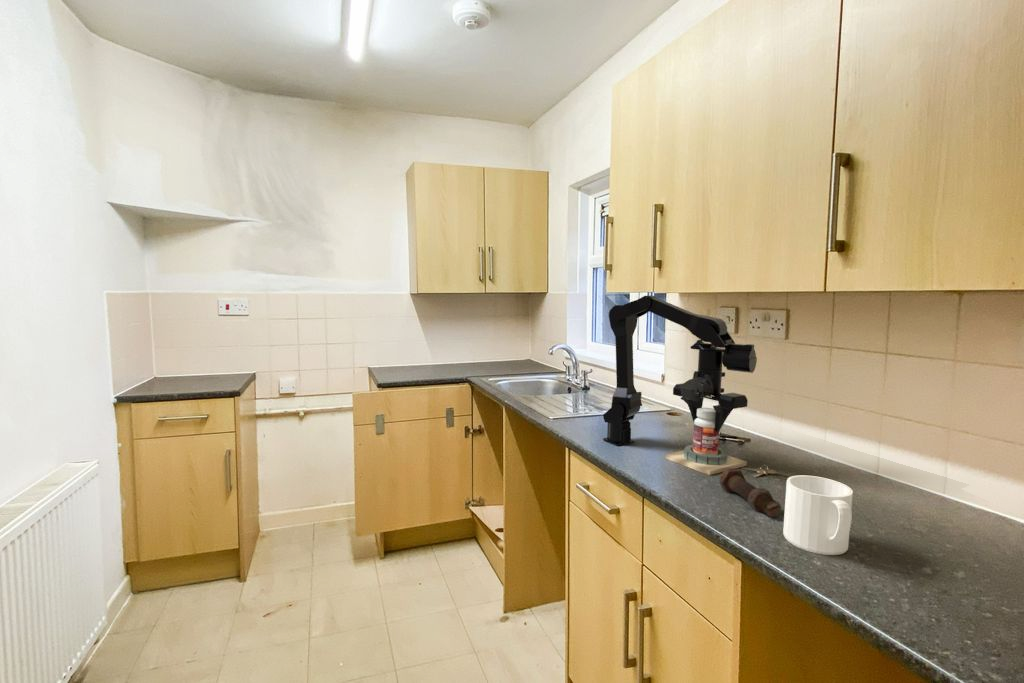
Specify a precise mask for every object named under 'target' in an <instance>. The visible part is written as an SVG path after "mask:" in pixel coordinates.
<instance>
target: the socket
mask: <svg viewBox="0 0 1024 683" xmlns="http://www.w3.org/2000/svg"><path fill="white" fill-rule="evenodd" d="M664 458H665V459H667V460H669V461H671V462H675V463H676V464H679V465H682V466H685V467H686V468H687V467H688V468H690V469H692V470H695V471H698V472H700V473H703V474H705V475H708V476H712V475H716V474H720V473H723V472H724V471H725V470H726V469H732V468H734V469H739V468H741V467H745V466H747V464H748V462H747V461H746V460H743V459H739V458H737V457H734V456H733V457H732V456H731V455H729V454H728V451H727V450H726V449H723V448H721V447H719V446H718V454H717V455H703V454H698V453H695V452H694V451H693V444H690V445H689V444H687V445H686V446H685V447H684V449H683V450H680V451H675V452H672V453H666V454H665V457H664Z"/></svg>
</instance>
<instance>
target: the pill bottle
mask: <svg viewBox="0 0 1024 683" xmlns="http://www.w3.org/2000/svg"><path fill="white" fill-rule="evenodd" d="M697 416H698V418H696V419H695V421H694V422H693V436H692V445H693V451H694V452H695V453H698V454H703V455H717V454H718V447H719V443H720V442H719V440H720V439H719V438H720V431H715V416H716V411H715V409H714V408H711V407H702V408H698V409H697Z"/></svg>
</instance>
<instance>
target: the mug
mask: <svg viewBox="0 0 1024 683" xmlns="http://www.w3.org/2000/svg"><path fill="white" fill-rule="evenodd" d="M786 479H787V480H786V484H785V486H786V487H785V501H784V516H783V530H782V534H783V537H784V538H785V539H786V541H787V542H788V543H790V544H791V545H793V546H795V547H797V548H799V549H801V550H803V551H805V552H806V551H807V552H810V553H813V554H817V555H823V556H838V555H843V554H844V553H846V552H847V551H848V550H849V544H850V543H849V542H850V531H851V526H852V519H853V518H852V517H853V513H852V506H853V505H852V504H853V495H854V494H853V493H854V490H853V489H852V488H851V487H849V485H846V484H844V483H843V482H839V481H837V480H835V479H834V480H833V479H830V478H826V477H823V476H822V477H821V476H815V475H808V474H807V475H802V474H801V475H792V476H789V477H787V478H786Z"/></svg>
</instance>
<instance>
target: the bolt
mask: <svg viewBox="0 0 1024 683" xmlns="http://www.w3.org/2000/svg"><path fill="white" fill-rule="evenodd" d="M719 484H720V486H721V488H722V489H723V491H724V492H726V493H737V495H739V496H741V498H743V499H745V500H746V501H747V503H748V505H749V507H750V508H751V509H752V510H754V511H755V512H762V513H765V514H766V515H767V516H768V517H771V518H772V517H776V516H778V515H779V514H780V513H781V511H782V506H781V504H780V503H779V501H777V500H776V499H774V498H773V496H772V494H771V492H770V491H769V490H768V489H766V488H763V487H758V488H757V487H756V486H754V485H752V484H751V483H749V482H748V481H747V480H746V478H745V476H744V473H743V471H742V470H741V469H739V468H735V469H734V468H732V469H726V470H725V471H724V472H721V475H720V476H719Z"/></svg>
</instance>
